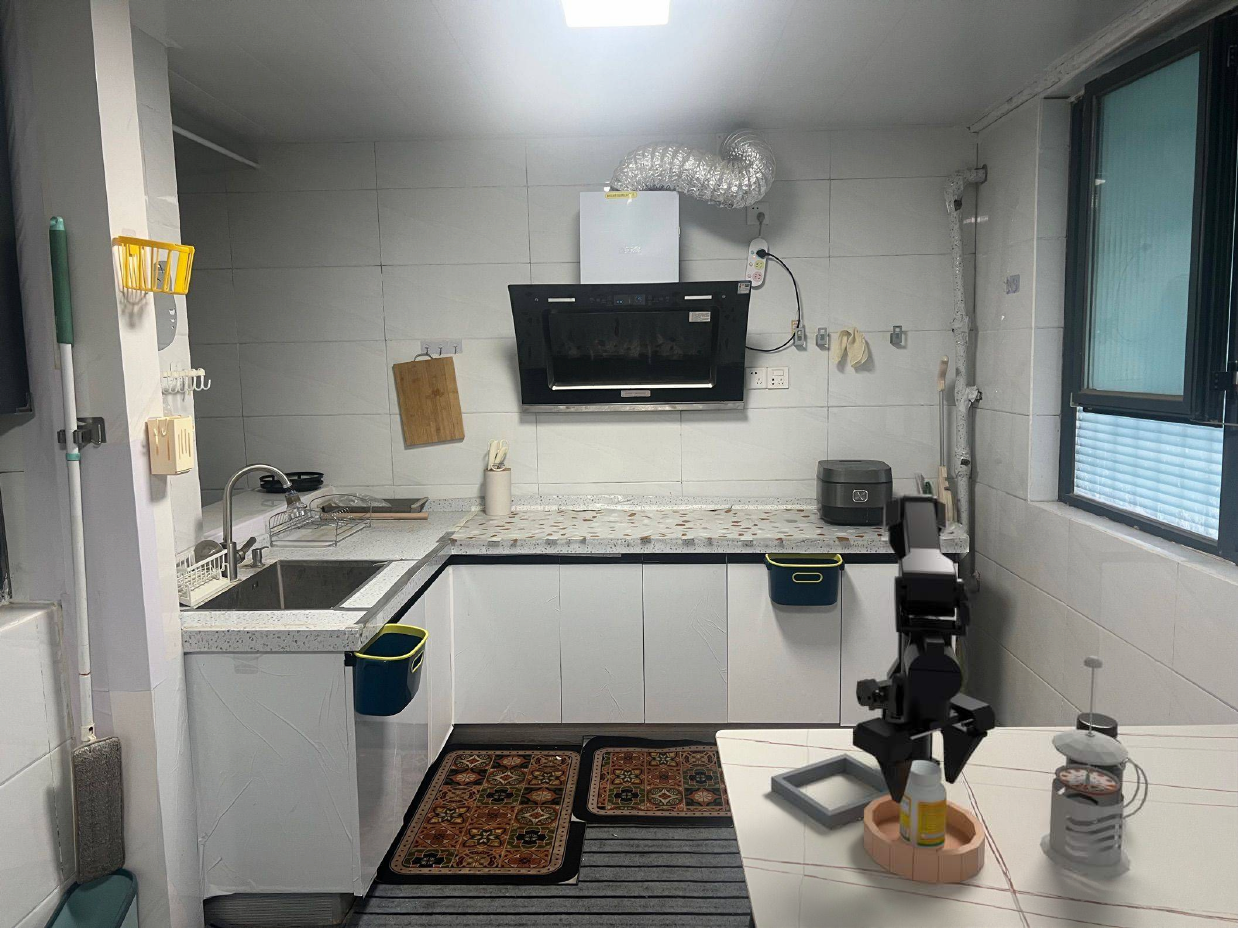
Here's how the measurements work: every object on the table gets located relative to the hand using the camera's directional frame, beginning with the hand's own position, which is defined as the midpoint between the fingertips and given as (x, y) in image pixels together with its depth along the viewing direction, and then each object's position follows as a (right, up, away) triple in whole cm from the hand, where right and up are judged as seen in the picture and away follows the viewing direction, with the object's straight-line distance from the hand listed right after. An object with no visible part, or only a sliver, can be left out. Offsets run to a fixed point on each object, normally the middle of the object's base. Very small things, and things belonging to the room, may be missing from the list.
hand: (923, 791), depth 105 cm
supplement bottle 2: (+27, -6, +11) cm, 29 cm away
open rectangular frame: (-7, -6, +14) cm, 17 cm away
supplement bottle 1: (0, -7, +1) cm, 7 cm away
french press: (+20, -7, -1) cm, 22 cm away
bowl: (0, -8, +1) cm, 8 cm away
